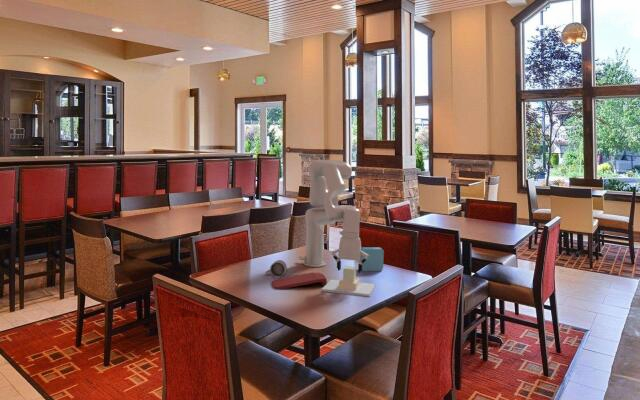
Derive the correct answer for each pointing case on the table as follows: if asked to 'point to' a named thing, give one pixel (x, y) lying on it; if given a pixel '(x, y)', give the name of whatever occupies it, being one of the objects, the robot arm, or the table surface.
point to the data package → (373, 259)
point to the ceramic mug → (277, 268)
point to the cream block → (349, 274)
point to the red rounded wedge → (299, 280)
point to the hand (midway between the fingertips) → (349, 271)
